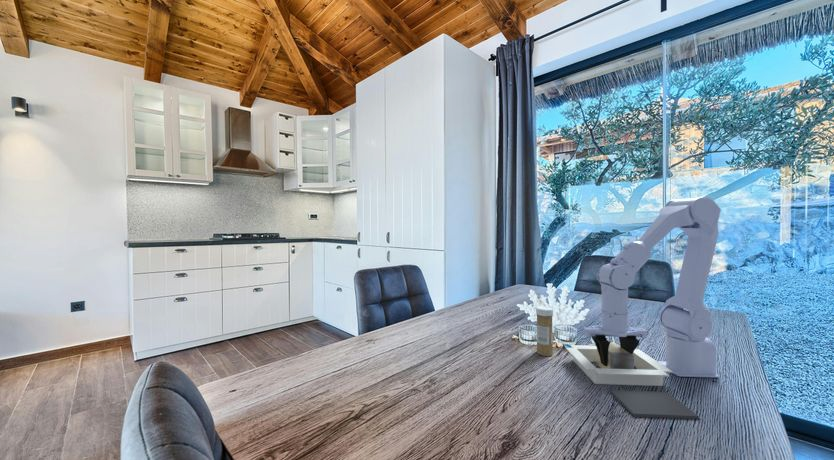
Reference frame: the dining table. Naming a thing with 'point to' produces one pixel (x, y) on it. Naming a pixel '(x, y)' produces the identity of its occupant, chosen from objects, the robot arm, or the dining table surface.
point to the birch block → (617, 358)
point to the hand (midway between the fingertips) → (614, 364)
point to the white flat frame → (643, 375)
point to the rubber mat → (653, 404)
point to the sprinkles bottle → (544, 330)
